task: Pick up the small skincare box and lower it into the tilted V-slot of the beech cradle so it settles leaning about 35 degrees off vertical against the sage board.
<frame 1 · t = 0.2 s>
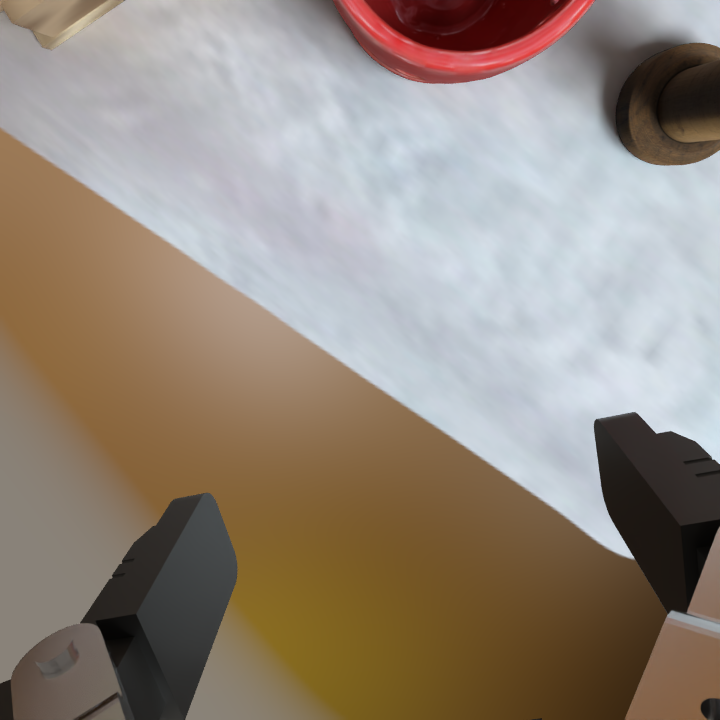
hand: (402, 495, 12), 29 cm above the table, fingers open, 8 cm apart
mortar and pestle: (669, 109, 36), on the table
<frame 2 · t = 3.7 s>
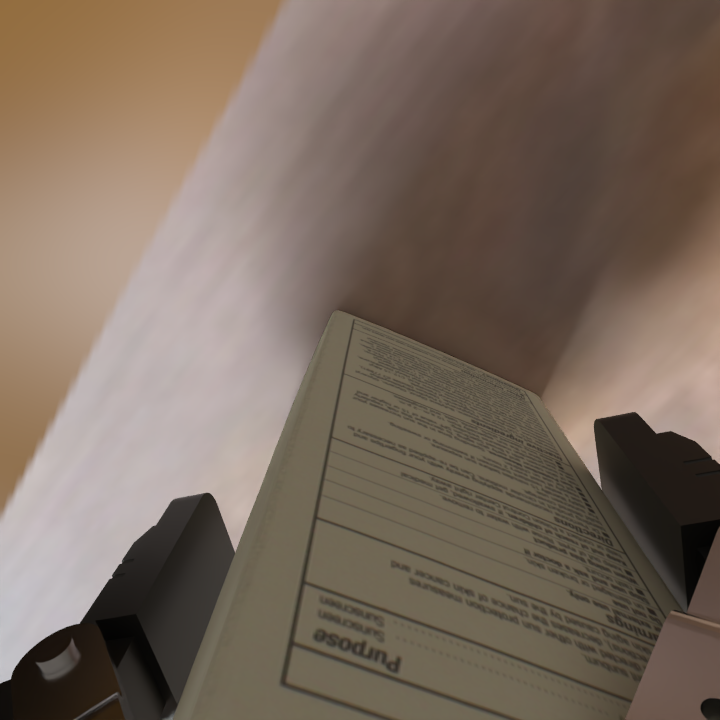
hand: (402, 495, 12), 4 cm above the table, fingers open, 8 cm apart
skincare box: (412, 412, 16), on the table
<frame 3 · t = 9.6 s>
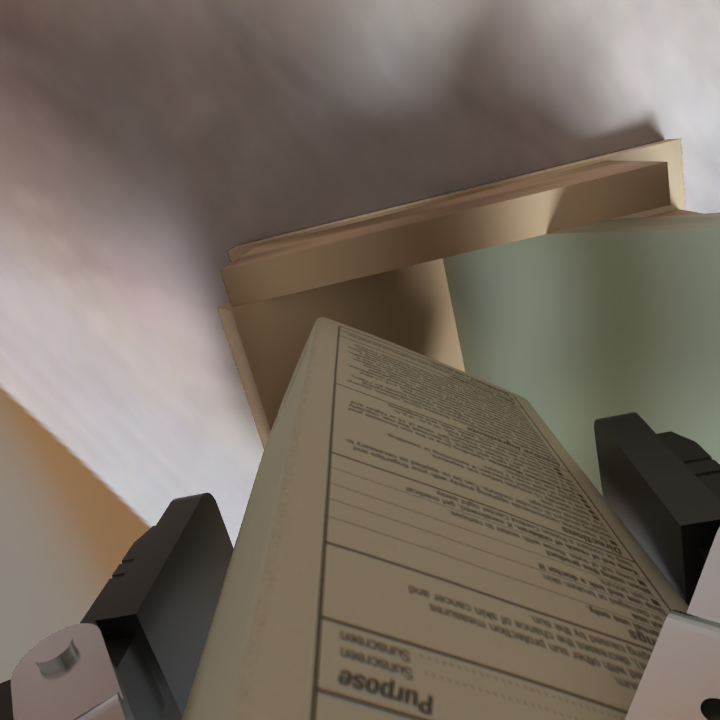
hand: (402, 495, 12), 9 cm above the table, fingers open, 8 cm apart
tilted cradle: (465, 340, 20), on the table
skincare box: (399, 420, 16), point 5 cm above the table, touching gripper, tilted cradle
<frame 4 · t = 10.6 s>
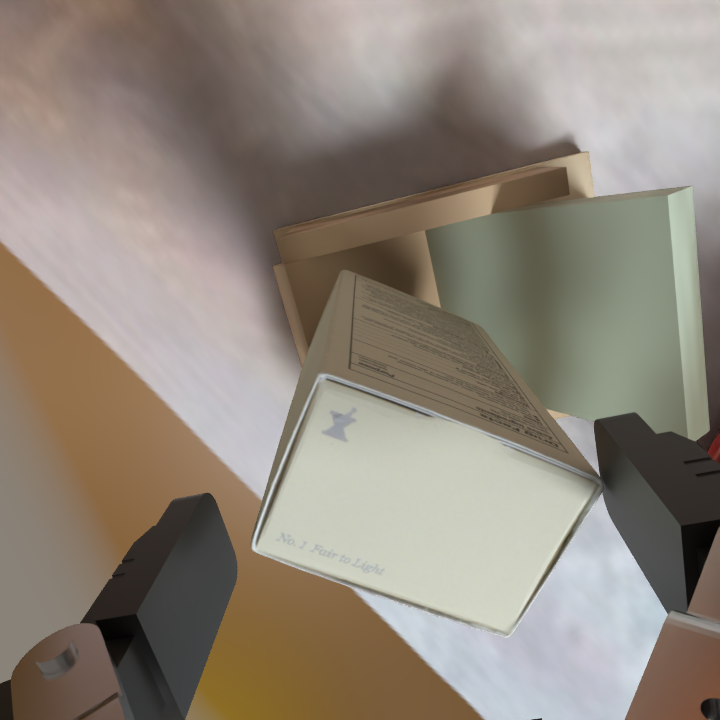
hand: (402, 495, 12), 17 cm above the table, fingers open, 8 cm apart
tilted cradle: (444, 297, 28), on the table
skincare box: (396, 342, 23), point 5 cm above the table, touching tilted cradle
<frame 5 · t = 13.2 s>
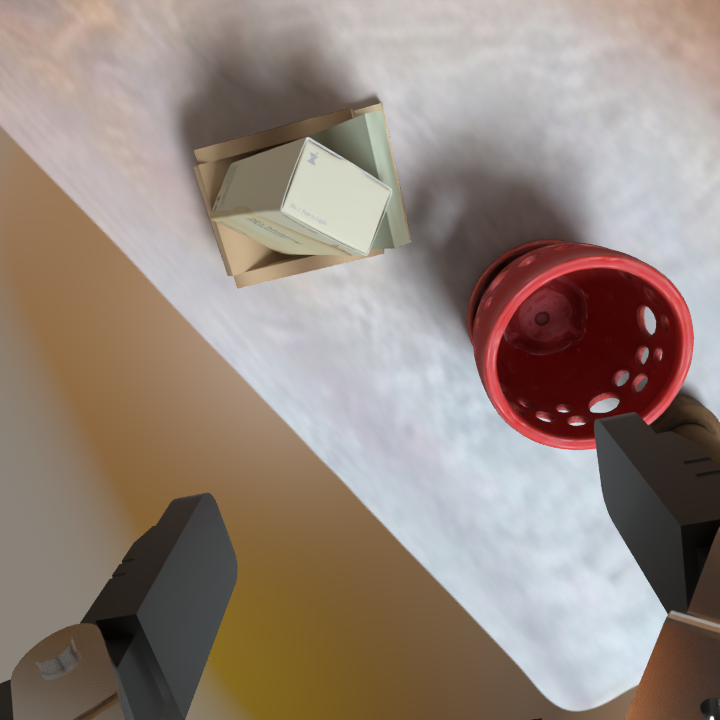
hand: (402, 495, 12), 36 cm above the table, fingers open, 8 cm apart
tilted cradle: (307, 196, 45), on the table
skincare box: (257, 209, 42), point 3 cm above the table, touching tilted cradle
plant pot: (541, 310, 47), on the table
mortar and pestle: (668, 428, 50), on the table
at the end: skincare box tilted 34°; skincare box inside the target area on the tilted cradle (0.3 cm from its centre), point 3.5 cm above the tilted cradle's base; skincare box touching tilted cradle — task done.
